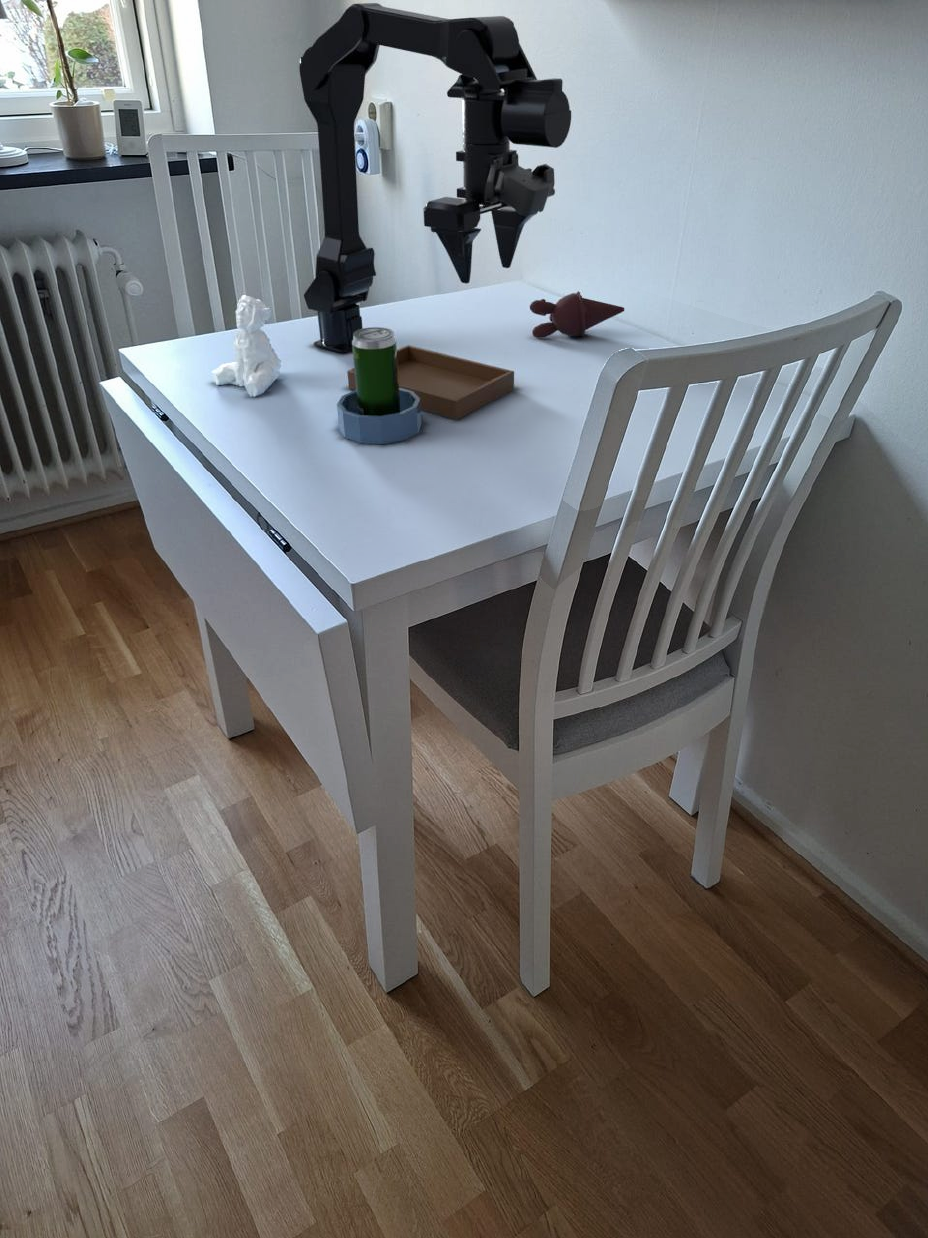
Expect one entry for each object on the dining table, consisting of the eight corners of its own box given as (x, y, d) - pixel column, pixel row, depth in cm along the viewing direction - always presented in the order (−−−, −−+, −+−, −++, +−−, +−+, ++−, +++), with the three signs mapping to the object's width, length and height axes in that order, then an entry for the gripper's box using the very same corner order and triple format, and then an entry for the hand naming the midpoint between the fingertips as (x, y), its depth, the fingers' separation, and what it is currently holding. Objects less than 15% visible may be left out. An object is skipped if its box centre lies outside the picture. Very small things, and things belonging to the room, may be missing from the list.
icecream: (618, 285, 140) (526, 296, 140) (628, 285, 133) (531, 297, 133) (620, 330, 142) (530, 341, 142) (630, 332, 135) (535, 344, 135)
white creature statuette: (210, 383, 124) (193, 298, 117) (255, 366, 130) (242, 283, 123) (254, 398, 120) (240, 309, 113) (299, 379, 125) (289, 294, 118)
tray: (348, 388, 122) (347, 370, 121) (409, 361, 131) (408, 344, 129) (456, 420, 113) (456, 401, 111) (514, 389, 121) (514, 371, 120)
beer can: (372, 439, 108) (364, 343, 101) (352, 425, 112) (343, 331, 105) (409, 429, 111) (404, 334, 104) (388, 415, 114) (382, 323, 107)
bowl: (324, 431, 110) (321, 404, 108) (377, 405, 117) (375, 380, 115) (384, 451, 105) (382, 424, 103) (436, 423, 112) (435, 397, 110)
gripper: (495, 157, 96) (494, 301, 105) (582, 136, 108) (575, 268, 117) (417, 149, 101) (423, 287, 110) (509, 131, 113) (507, 257, 122)
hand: (486, 274), depth 115 cm, fingers open, 9 cm apart
